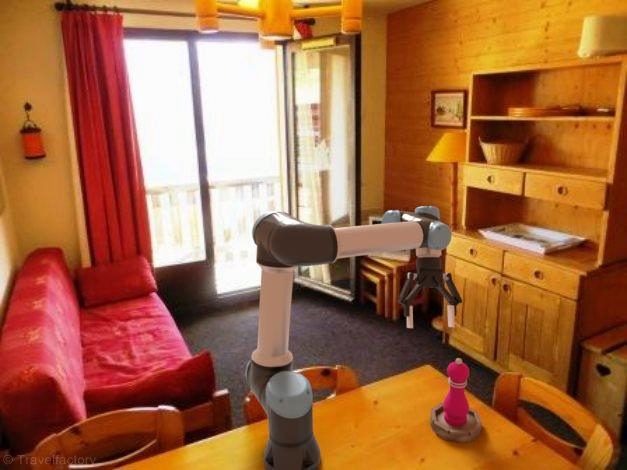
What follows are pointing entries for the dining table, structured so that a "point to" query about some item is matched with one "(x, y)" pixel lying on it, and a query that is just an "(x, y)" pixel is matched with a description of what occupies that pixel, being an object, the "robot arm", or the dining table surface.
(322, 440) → the dining table surface
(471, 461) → the dining table surface
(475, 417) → the bowl
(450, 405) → the pepper mill
